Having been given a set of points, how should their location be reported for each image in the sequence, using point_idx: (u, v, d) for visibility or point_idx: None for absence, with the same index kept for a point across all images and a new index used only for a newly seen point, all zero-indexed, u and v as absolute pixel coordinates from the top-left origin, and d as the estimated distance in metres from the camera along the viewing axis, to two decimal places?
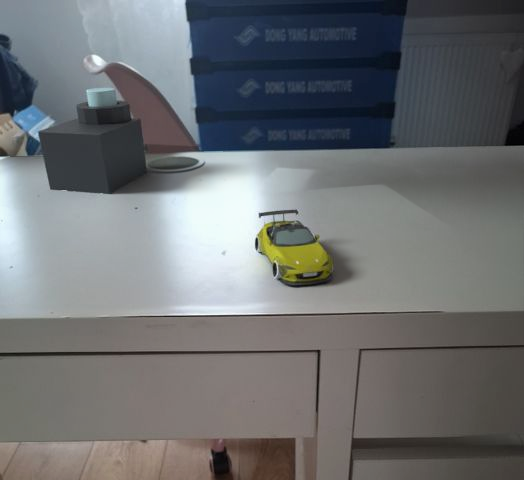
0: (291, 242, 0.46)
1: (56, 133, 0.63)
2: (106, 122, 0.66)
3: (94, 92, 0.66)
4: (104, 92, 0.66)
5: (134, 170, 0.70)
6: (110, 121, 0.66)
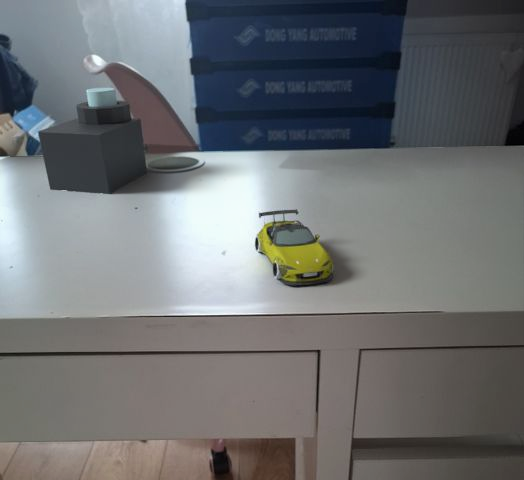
0: (291, 242, 0.46)
1: (56, 133, 0.63)
2: (106, 122, 0.66)
3: (94, 92, 0.66)
4: (104, 92, 0.66)
5: (134, 170, 0.70)
6: (110, 121, 0.66)
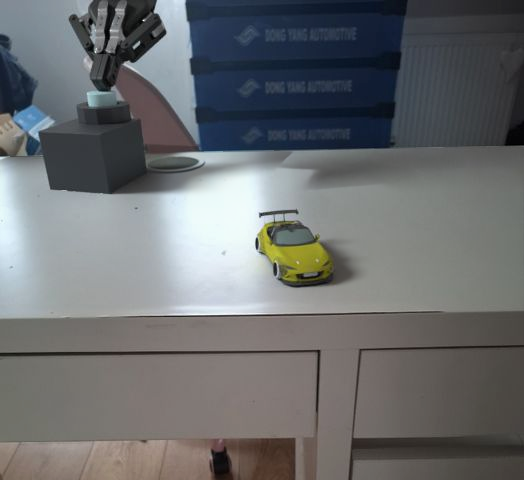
0: (291, 242, 0.46)
1: (56, 133, 0.63)
2: (106, 122, 0.66)
3: (94, 95, 0.66)
4: (104, 95, 0.66)
5: (134, 170, 0.70)
6: (110, 121, 0.66)
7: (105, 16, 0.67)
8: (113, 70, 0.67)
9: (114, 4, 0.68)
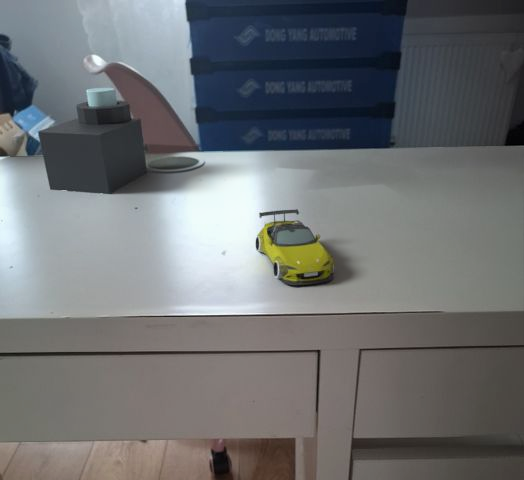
0: (292, 242, 0.46)
1: (56, 133, 0.63)
2: (106, 122, 0.66)
3: (94, 92, 0.66)
4: (104, 92, 0.66)
5: (134, 170, 0.70)
6: (110, 121, 0.66)
7: None
8: None
9: None
